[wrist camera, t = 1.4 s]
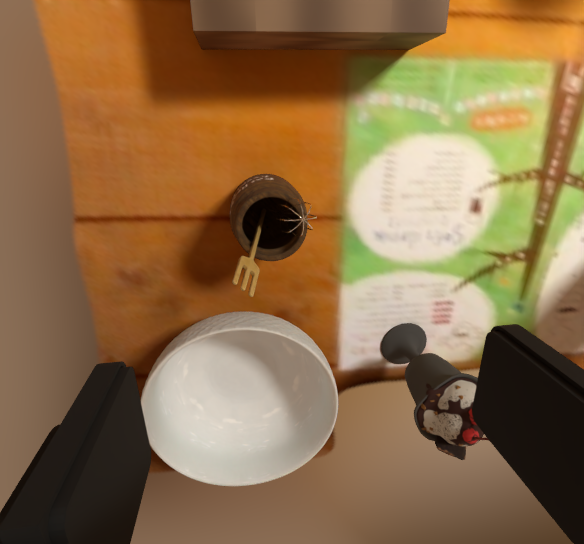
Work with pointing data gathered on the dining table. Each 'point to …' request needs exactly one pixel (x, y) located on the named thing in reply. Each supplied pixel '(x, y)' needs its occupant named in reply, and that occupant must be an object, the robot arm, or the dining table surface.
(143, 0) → the dining table surface
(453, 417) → the sundae
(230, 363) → the cereal bowl
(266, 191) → the utensil holder
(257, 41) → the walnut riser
